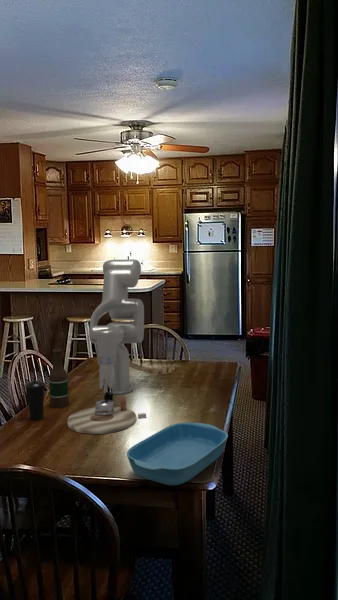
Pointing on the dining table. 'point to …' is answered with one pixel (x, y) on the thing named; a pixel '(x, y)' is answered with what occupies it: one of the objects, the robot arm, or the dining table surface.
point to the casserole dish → (177, 452)
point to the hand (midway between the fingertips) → (108, 403)
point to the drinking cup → (35, 398)
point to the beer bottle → (58, 382)
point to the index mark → (142, 415)
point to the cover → (104, 407)
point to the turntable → (102, 420)
